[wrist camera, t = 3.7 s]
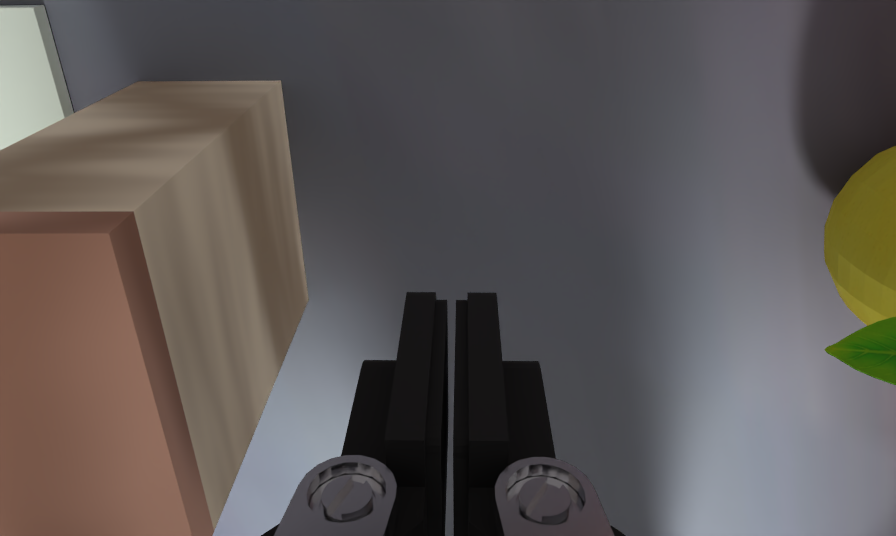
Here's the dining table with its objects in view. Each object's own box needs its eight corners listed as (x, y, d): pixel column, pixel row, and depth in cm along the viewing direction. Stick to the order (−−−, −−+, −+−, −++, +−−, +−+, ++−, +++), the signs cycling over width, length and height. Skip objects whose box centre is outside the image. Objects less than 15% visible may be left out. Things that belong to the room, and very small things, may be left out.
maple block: (281, 80, 18) (108, 233, 9) (308, 299, 22) (200, 565, 13) (137, 81, 18) (-166, 233, 10) (186, 299, 22) (-5, 562, 13)
